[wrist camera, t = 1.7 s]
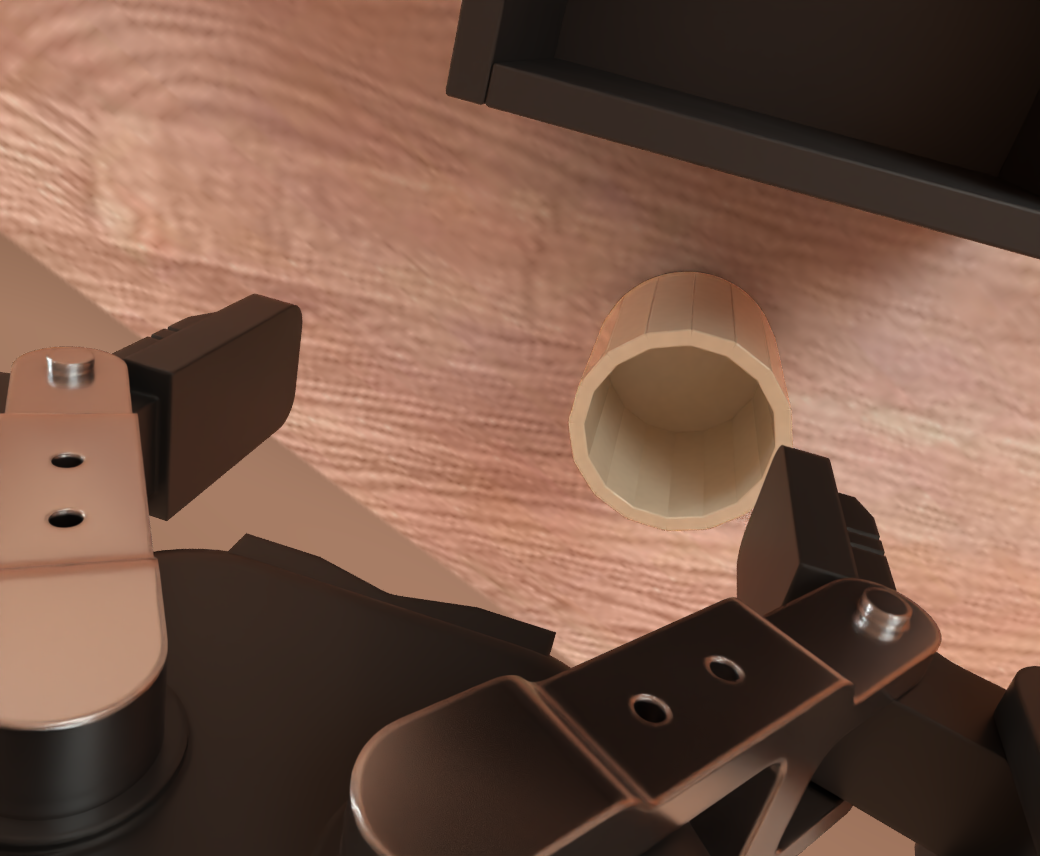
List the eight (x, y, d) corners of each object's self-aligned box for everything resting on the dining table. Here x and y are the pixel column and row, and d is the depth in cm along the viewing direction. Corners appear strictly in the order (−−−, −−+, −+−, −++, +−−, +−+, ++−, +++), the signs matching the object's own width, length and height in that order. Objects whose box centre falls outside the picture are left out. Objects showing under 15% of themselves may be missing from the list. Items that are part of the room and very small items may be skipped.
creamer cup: (577, 408, 30) (546, 494, 25) (625, 249, 28) (602, 303, 22) (739, 457, 30) (746, 557, 24) (802, 300, 27) (827, 368, 22)
